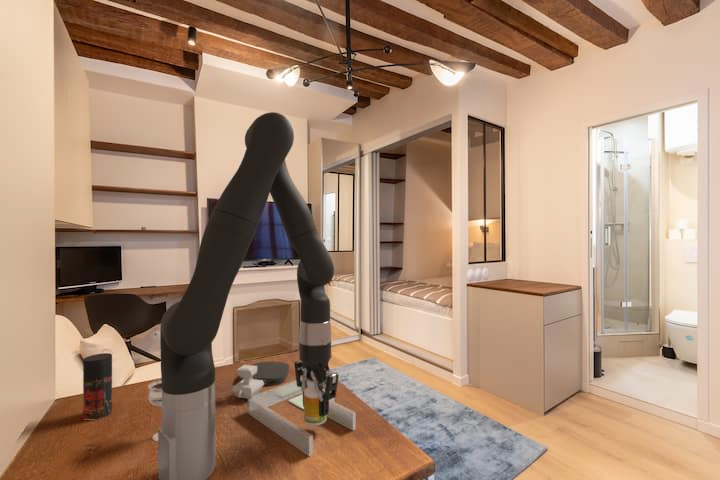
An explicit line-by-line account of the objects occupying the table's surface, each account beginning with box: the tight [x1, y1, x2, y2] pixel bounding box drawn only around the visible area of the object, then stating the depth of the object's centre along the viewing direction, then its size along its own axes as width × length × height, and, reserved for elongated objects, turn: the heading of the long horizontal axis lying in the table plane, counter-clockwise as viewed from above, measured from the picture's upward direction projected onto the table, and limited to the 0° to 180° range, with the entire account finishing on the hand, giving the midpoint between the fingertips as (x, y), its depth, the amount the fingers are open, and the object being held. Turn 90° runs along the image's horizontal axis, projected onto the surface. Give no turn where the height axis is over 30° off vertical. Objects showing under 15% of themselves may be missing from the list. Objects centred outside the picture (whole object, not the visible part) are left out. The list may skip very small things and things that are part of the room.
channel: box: [246, 377, 357, 457], centre depth 85 cm, size 18×26×4 cm
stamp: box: [231, 364, 265, 400], centre depth 97 cm, size 9×7×8 cm
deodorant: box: [82, 352, 113, 420], centre depth 87 cm, size 6×6×15 cm
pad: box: [287, 393, 304, 411], centre depth 93 cm, size 7×9×1 cm
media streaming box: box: [239, 361, 290, 386], centre depth 112 cm, size 15×15×3 cm
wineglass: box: [147, 378, 162, 442], centre depth 78 cm, size 7×7×12 cm
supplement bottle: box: [303, 379, 328, 427], centre depth 79 cm, size 5×5×10 cm
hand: (315, 410), depth 79 cm, fingers closed on supplement bottle, 5 cm apart
